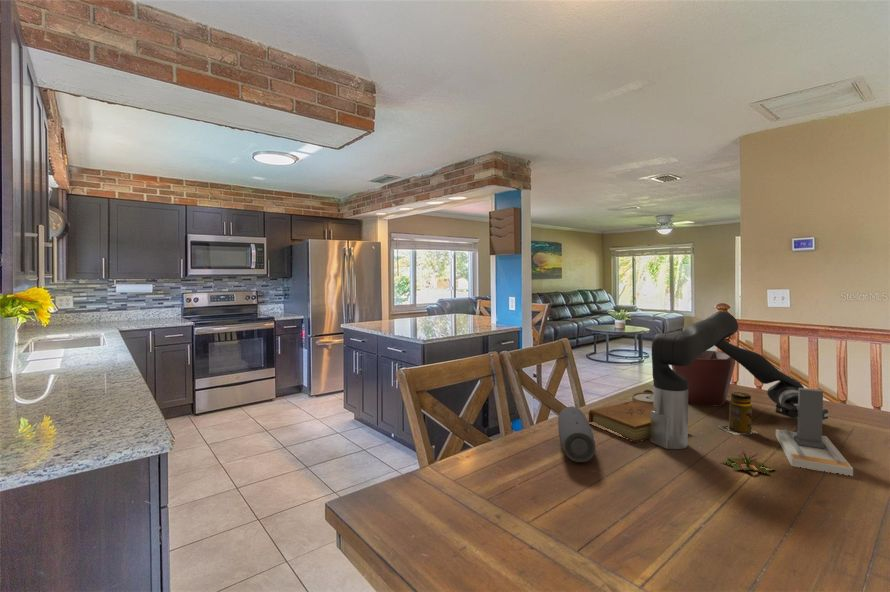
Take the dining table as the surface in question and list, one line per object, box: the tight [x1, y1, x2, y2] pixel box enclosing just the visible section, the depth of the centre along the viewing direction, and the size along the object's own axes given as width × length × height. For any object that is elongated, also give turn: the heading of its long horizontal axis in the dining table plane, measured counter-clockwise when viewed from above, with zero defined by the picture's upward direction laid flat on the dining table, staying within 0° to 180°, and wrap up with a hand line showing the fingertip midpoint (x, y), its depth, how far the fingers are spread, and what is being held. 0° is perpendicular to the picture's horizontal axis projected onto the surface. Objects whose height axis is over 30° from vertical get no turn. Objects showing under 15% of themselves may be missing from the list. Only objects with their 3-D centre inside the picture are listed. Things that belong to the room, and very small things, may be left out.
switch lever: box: [794, 387, 825, 449], centre depth 120 cm, size 4×6×16 cm, turn 60°
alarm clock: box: [631, 389, 654, 405], centre depth 166 cm, size 11×5×15 cm
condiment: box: [716, 391, 758, 436], centre depth 137 cm, size 7×8×12 cm
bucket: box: [671, 350, 736, 406], centre depth 170 cm, size 24×22×25 cm
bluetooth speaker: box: [557, 406, 596, 463], centre depth 124 cm, size 23×9×10 cm, turn 168°
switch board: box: [775, 428, 854, 477], centre depth 119 cm, size 24×12×3 cm, turn 150°
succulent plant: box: [720, 450, 775, 476], centre depth 112 cm, size 12×12×5 cm
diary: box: [588, 400, 653, 443], centre depth 142 cm, size 23×19×6 cm
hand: (808, 419), depth 121 cm, fingers closed
